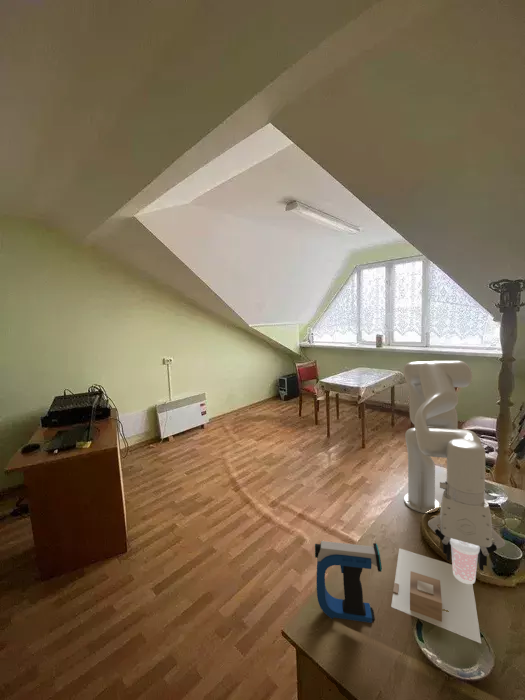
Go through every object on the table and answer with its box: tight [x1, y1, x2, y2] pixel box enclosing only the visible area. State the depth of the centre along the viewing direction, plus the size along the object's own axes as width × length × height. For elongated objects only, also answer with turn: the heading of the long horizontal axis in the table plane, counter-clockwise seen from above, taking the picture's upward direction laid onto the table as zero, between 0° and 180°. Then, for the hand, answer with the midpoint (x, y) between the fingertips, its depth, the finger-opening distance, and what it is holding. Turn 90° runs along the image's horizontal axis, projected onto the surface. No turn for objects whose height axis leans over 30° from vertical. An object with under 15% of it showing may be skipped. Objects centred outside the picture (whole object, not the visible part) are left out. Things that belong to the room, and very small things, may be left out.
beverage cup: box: [450, 538, 480, 584], centre depth 72 cm, size 6×6×14 cm
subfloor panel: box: [390, 548, 482, 644], centre depth 81 cm, size 22×24×2 cm
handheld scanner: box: [314, 540, 383, 624], centre depth 75 cm, size 5×16×20 cm, turn 78°
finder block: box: [410, 571, 442, 622], centre depth 76 cm, size 7×7×5 cm
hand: (464, 560), depth 72 cm, fingers closed on beverage cup, 6 cm apart
